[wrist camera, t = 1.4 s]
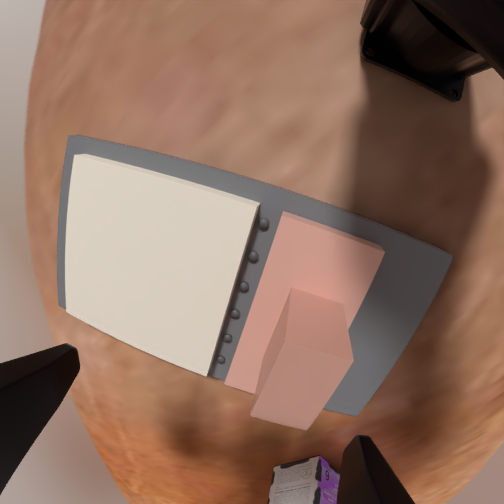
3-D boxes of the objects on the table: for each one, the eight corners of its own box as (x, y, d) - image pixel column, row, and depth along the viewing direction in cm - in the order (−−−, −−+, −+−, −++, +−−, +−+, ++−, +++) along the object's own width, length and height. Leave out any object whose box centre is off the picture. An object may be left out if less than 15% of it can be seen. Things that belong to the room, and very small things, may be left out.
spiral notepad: (274, 207, 16) (272, 211, 15) (221, 369, 20) (217, 380, 19) (85, 153, 17) (74, 155, 16) (75, 305, 21) (66, 311, 20)
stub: (379, 245, 16) (415, 294, 10) (303, 395, 20) (298, 464, 14) (283, 210, 16) (271, 245, 10) (228, 372, 20) (203, 439, 14)
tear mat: (447, 251, 16) (453, 256, 15) (355, 407, 21) (356, 416, 20) (77, 134, 18) (68, 135, 17) (65, 300, 23) (58, 305, 22)
